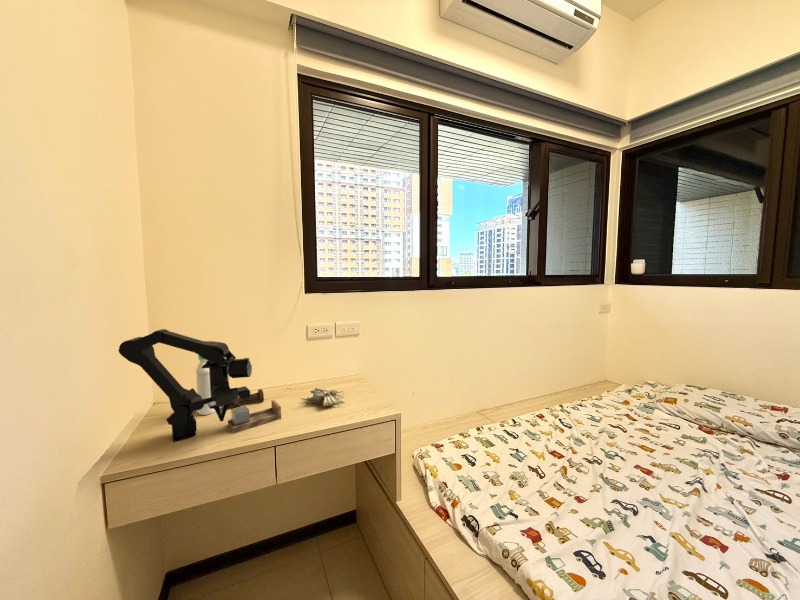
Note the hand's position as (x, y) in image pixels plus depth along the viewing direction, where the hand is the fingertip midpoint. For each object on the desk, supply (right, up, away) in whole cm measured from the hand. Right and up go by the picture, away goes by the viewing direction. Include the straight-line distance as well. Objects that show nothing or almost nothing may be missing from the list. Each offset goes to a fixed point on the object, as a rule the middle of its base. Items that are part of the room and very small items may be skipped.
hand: (221, 421), depth 110 cm
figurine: (+32, -2, +24) cm, 40 cm away
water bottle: (-15, -3, +16) cm, 22 cm away
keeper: (+5, -2, +4) cm, 7 cm away
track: (+8, -3, +8) cm, 12 cm away
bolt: (-4, -2, +24) cm, 24 cm away
